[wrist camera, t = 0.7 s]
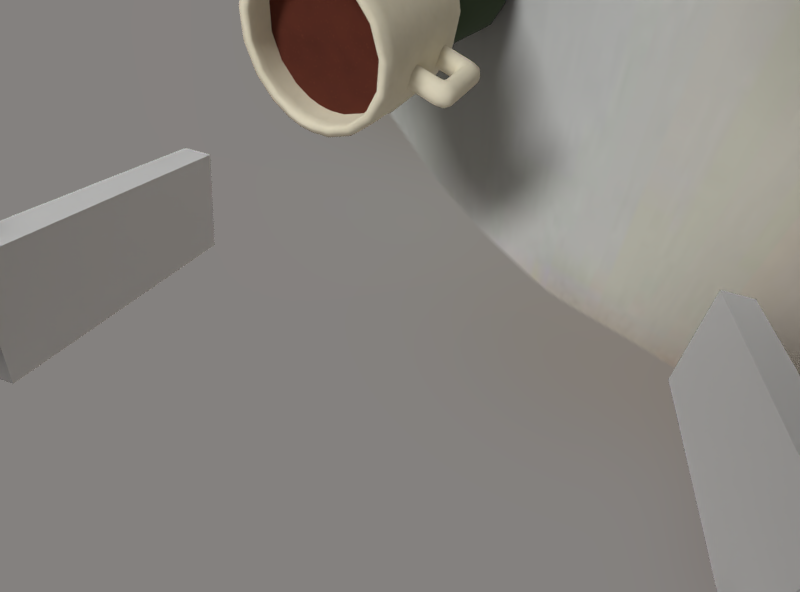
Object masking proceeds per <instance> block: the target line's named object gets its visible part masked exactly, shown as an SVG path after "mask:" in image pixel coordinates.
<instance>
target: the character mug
mask: <svg viewBox="0 0 800 592" xmlns="http://www.w3.org/2000/svg"><path fill="white" fill-rule="evenodd" d="M504 4H505V0H239V10H240V17H241V25H242V32H243V38H244V42H245V45H246V48H247V50H248V53H249V55H250V58H251V61H252V63H253V66H254V69H255V71H256V74H257V75H258V77H259V78H260V80H261V81H262V83H263V85H264V86H265V88H266V89H267V91H268V93H269V94H270V96H271V97H272V99H273V100H274V102H275V103H277V105H278V106H279V107H280V108H281V109H282V110H283V111H284V112H285V113H286V114H287V115H288V116H289V117H290V118H291V119H293V120H294V121H295V122H296V123H297V124H299V125H300V126H302V127H304V128H306V129H307V130H309V131H311V132H313V133H317V134H320V135H323V136H326V137H341V136H351V135H353V134H355V133H357V132H359V131H361V130H362V129H364V128H366V127H368V126H369V125H371V124H373V123H374V122H376V121H378V120H379V119H381V118H382V117H383V116H384V115H386V114H389V113H391V112H392V111H394V110H395V109H396V108H398V107H399V106H400V105H402V104H403V103H404V102H406V101H407V100H408V99H409V98H411V97H412V96H413V95H415V94H417V95H419V96H420V97H422V98H424V99H425V100H427V101H428V102H430V103H431V104H433V105H435V106H438V107H440V108H443V109H444V108H447V107H451V106H452V105H453V104H454V103H455V102H457V101H458V100H459V99H460V98H461V97H462V96H463V95H465V94H466V93H467V92H468V91H469V90H470V89H471V88H472V87H474V86H475V85H476V84H477V83H478V82H479V79H480V68H479V67H478V66H477V65H476V64H475V63H474V62H472V61H471V60H469V59H468V58H466V57H464V56H463V55H461V54H460V53H458V52H456V51H455V50H453V49H452V47H453V43H455V42H457V41H459V40H461V39H463V38H465V37H467V36H469V35H471V34H473V33H475V32H477V31H479V30H481V29H483V28H484V27H486V26H488V25H490V24H491V23H492V22H493V20H494V19H495V17H496V16H497V14H498V13H499V11H500V10H501V8H502V7H503V5H504ZM439 70H440V71H442V72H444V73H445V74H447V75H448V76H450V77H449V78H448V79H445V80H443V79H441V78H439V77H437V76H436V74H437V73H438V71H439Z"/></svg>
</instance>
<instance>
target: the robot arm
mask: <svg viewBox="0 0 800 592" xmlns="http://www.w3.org/2000/svg"><path fill="white" fill-rule="evenodd" d="M212 203H213V202H212V181H211V159H210V154H206V153H202V152H198V151H195V150H191V149H187V148H184V149H182V150H179V151H177V152H174V153H172V154H169V155H167V156H164V157H161V158H159V159H156V160H154V161H151V162H149V163H146V164H144V165H141V166H138V167H136V168H133V169H131V170H128V171H126V172H123V173H121V174H118V175H115V176H113V177H110V178H108V179H105V180H103V181H100V182H97V183H95V184H92V185H90V186H87V187H85V188H82V189H80V190H77V191H75V192H72V193H70V194H67V195H64V196H62V197H59V198H57V199H54V200H52V201H49V202H47V203H44V204H41V205H39V206H36V207H34V208H31V209H29V210H26V211H24V212H21V213H18V214H16V215H13V216H11V217H8V218H6V219H3V220H1V221H0V379H2V380H5V381H7V382H10V383H15V382H16V381H17V380H19V379H20V378H22V377H23V376H25V375H26V374H28V373H29V372H31V371H32V370H34V369H35V368H36V367H38V366H39V365H41V364H42V363H44V362H45V361H47V360H48V359H50V358H51V357H52V356H54V355H55V354H57V353H58V352H60V351H61V350H63V349H64V348H65V347H67V346H68V345H70V344H71V343H73V342H74V341H75V340H77V339H79V338H80V337H81V336H83V335H84V334H86V333H87V332H89V331H90V330H91V329H93V328H94V327H96V326H97V325H99V324H100V323H102V322H103V321H105V320H106V319H107V318H109V317H110V316H112V315H113V314H115V313H116V312H118V311H119V310H121V309H122V308H123V307H125V306H126V305H128V304H129V303H131V302H132V301H134V300H135V299H137V298H138V297H139V296H141V295H142V294H144V293H145V292H147V291H148V290H149V289H151V288H153V287H154V286H155V285H157V284H158V283H159V282H161V281H163V280H164V279H166V278H167V277H168V276H170V275H171V274H172V273H174V272H175V271H177V270H179V269H180V268H181V267H183V266H185V265H186V264H187V263H189V262H190V261H192V260H193V259H195V258H196V257H198V256H199V255H200V254H202V253H203V252H205V251H206V250H208V249H209V248H211V247H212V246H214V223H213V204H212ZM668 380H669V385H670V389H671V394H672V398H673V402H674V406H675V411H676V415H677V420H678V424H679V428H680V433H681V437H682V441H683V446H684V450H685V455H686V459H687V464H688V468H689V472H690V477H691V481H692V485H693V489H694V494H695V499H696V503H697V507H698V512H699V516H700V520H701V525H702V529H703V533H704V538H705V542H706V547H707V551H708V555H709V560H710V564H711V568H712V572H713V577H714V581H715V586H716V590H717V592H800V375H799V373H798V371H797V370H796V368H795V366H794V364H793V363H792V361H791V359H790V357H789V356H788V354H787V352H786V350H785V349H784V347H783V345H782V344H781V342H780V340H779V338H778V337H777V335H776V333H775V331H774V330H773V328H772V326H771V324H770V323H769V321H768V319H767V318H766V316H765V314H764V312H763V311H762V309H761V307H760V305H759V304H758V302H757V300H756V299H753V298H750V297H746V296H742V295H738V294H735V293H731V292H727V291H723V290H720V291H719V293H718V295H717V296H716V298H715V300H714V301H713V303H712V305H711V307H710V308H709V310H708V312H707V314H706V315H705V317H704V319H703V320H702V322H701V324H700V326H699V327H698V329H697V331H696V333H695V334H694V336H693V338H692V339H691V341H690V343H689V345H688V346H687V348H686V350H685V351H684V353H683V355H682V357H681V358H680V360H679V362H678V364H677V365H676V367H675V369H674V370H673V372H672V374H671V376H670V377H669V379H668Z"/></svg>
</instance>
